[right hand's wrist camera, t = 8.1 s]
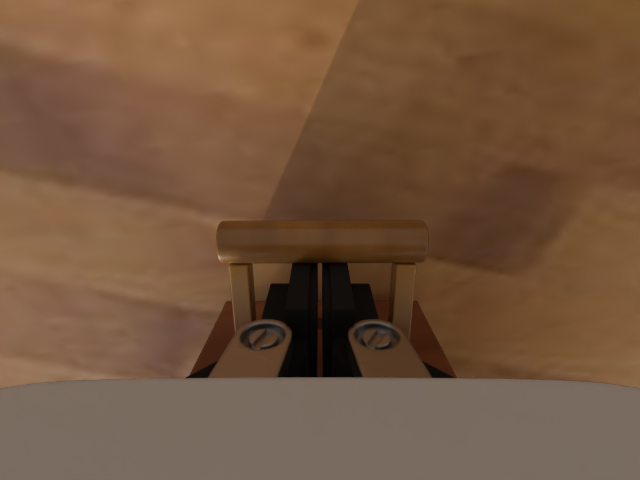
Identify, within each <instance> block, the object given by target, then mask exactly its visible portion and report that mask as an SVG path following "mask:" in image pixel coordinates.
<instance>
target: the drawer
mask: <svg viewBox="0 0 640 480" xmlns="http://www.w3.org/2000/svg"><path fill="white" fill-rule="evenodd" d="M428 247H429V237H428V230H427V226H426V224H425V222H424V221H422V220H338V221H222V222H220V224H219V226H218V229H217V234H216V250H217V255H218V258H219V261H220V262H221V263H230V265H229V277H230V287H231V298H232V301H227V302H226V303H225V305H224V307H223V309H222V311H221V313H220V315H219V317H218V319H217V321H216V323H215V325H214V327H213V329H212V331H211V333H210V335H209V337H208V339H207V341H206V343H205V345H204V347H203V349H202V351H201V353H200V355H199V357H198V359H197V361H196V363H195V365H194V367H193V369H192V371H191V373H190V375H192V374H193V373H195V372H197V371H199V370H201V369H203V368H205V367H207V366H209V365H210V364H212V363H214V362H216V361H218V360H219V359H220V357H221V356H222V354H223V352H224V351H225V349H226V347H227V346H228V344H229V343H230V341H231V339H232V338H233V336H234V335H235V333H236V332H237V331H238V330H239V328H240V327H242V326H244V325H245V324H247V323H250V322H252V321H256V320H261V318H262V314H263V310H264V307H265V303H266V301H255V293H254V279H253V265H252V263H392V269H391V284H390V298H389V301H374V303H375V307H376V310H377V314H378V318H379V320H384V321H388V322H390V323H393V324H395V325H396V326H398V327H400V328H401V330H402V331H403V332H404V333H405V335H406V336H407V338H408V339H409V341H410V343H411V344H412V346H413V347H414V349H415V351H416V352H417V354H418V356H419V357H420V359H421V360H422V361H424V362H426V363H428V364H429V365H431V366H433V367H435V368H437V369H439V370H441V371H443V372H445V373H447V374H448V375H450V376H452V377H454V378H457V377H456V375H455V373H454V371H453V369H452V367H451V365H450V363H449V361H448V360H447V358H446V356H445V354H444V352H443V350H442V348H441V346H440V344H439V342H438V340H437V338H436V337H435V335H434V333H433V331H432V329H431V327H430V325H429V323H428V321H427V319H426V317H425V315H424V314H423V312H422V310H421V308H420V306H419V304H418V302H417V301H413V297H414V286H415V275H416V264H415V263H422V262H424V261H425V259H426V257H427V253H428ZM190 375H189V376H190ZM317 377H323V354H322V301H318V349H317Z"/></svg>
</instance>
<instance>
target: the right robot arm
mask: <svg viewBox="0 0 640 480" xmlns="http://www.w3.org/2000/svg"><path fill="white" fill-rule="evenodd" d="M317 349H318V263H293V264H292V270H291V276H290V282H289V284H271V285H270V288H269V292H268V296H267V299H266V303H265V307H264V310H263V314H262V318H261V320H256V321H252V322H250V323H247V324H245V325H244V326H242V327H240V328H239V330H238V331H237V332H236V333H235V335H234V336H233V338H232V339H231V341H230V343H229V344H228V346H227V347H226V349H225V351H224V352H223V354H222V356H221V357H220V359H219V360H218V361H216V362H214V363H212V364H210V365H209V366H207V367H205V368H203V369H201V370H199V371H197V372H195V373H193V374H192V375H190V376H188V377H186V378H164V379H108V380H77V381H57V382H44V383H33V384H26V385H18V386H11V387H6V388H1V389H0V480H640V389H639V388H634V387H629V386H622V385H614V384H606V383H597V382H583V381H566V380H530V379H483V378H454V377H452V376H450V375H448V374H447V373H445V372H443V371H441V370H439V369H437V368H435V367H433V366H431V365H429V364H428V363H426V362H424V361H422V360H421V359H420V357H419V356H418V354H417V352H416V351H415V349H414V347H413V346H412V344H411V343H410V341H409V339H408V338H407V336H406V335H405V333H404V332H403V331H402V330H401V328H400V327H398V326H396V325H395V324H393V323H390V322H388V321H384V320H379V318H378V314H377V310H376V307H375V303H374V300H373V296H372V292H371V289H370V285H369V284H351V282H350V276H349V271H348V265H347V263H322V354H323V377H317Z"/></svg>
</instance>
